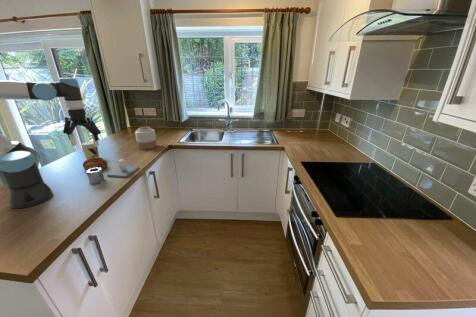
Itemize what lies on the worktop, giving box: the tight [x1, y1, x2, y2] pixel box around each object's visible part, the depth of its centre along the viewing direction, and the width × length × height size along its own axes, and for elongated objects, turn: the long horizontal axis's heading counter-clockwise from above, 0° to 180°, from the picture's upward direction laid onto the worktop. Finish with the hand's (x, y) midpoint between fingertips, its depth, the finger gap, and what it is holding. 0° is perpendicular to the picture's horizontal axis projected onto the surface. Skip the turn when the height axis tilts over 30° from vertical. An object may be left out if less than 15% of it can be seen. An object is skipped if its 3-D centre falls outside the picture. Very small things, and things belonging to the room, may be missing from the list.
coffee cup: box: [80, 140, 100, 160], centre depth 148 cm, size 9×9×12 cm
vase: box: [134, 126, 158, 151], centre depth 173 cm, size 15×15×17 cm
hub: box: [86, 167, 105, 185], centre depth 117 cm, size 7×7×7 cm
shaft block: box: [106, 158, 140, 179], centre depth 128 cm, size 14×12×8 cm
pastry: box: [82, 156, 108, 173], centre depth 132 cm, size 17×15×8 cm
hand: (85, 145), depth 119 cm, fingers open, 13 cm apart
